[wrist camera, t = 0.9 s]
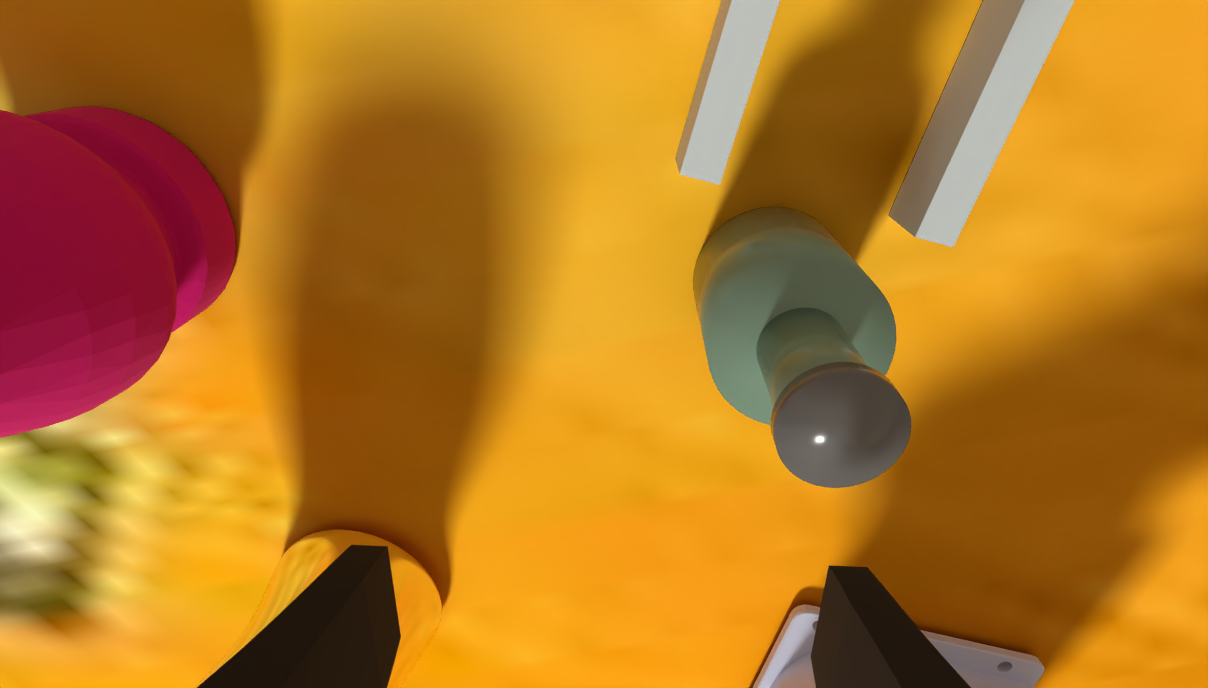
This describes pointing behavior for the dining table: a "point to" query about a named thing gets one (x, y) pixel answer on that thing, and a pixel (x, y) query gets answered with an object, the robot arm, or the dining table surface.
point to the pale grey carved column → (314, 556)
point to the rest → (956, 130)
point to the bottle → (802, 345)
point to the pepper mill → (98, 257)
